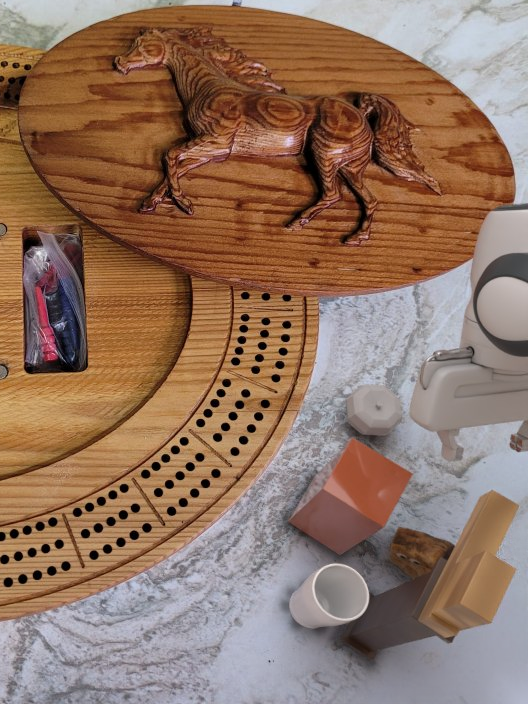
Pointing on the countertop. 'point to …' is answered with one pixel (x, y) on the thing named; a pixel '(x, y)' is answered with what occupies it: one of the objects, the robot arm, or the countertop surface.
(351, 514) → the terracotta block
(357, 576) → the white cup
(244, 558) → the countertop surface
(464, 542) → the tan stepped wooden block
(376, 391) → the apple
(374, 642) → the walnut shelf
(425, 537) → the brown rounded lump
